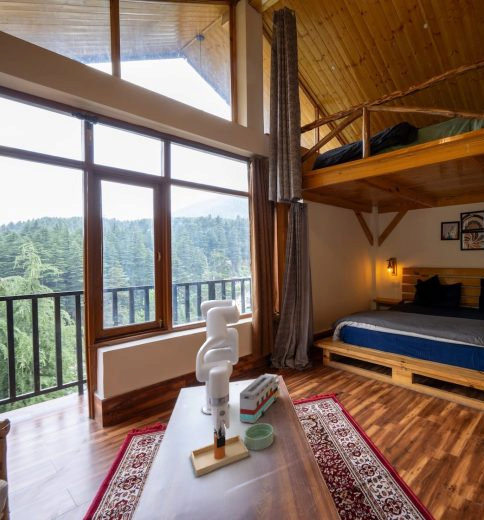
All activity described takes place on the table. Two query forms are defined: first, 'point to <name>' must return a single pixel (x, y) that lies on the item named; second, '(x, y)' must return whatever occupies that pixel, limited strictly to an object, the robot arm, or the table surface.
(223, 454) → the bottle
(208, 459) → the tray
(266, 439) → the bowl
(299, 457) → the table surface
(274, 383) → the multicoloured piece
